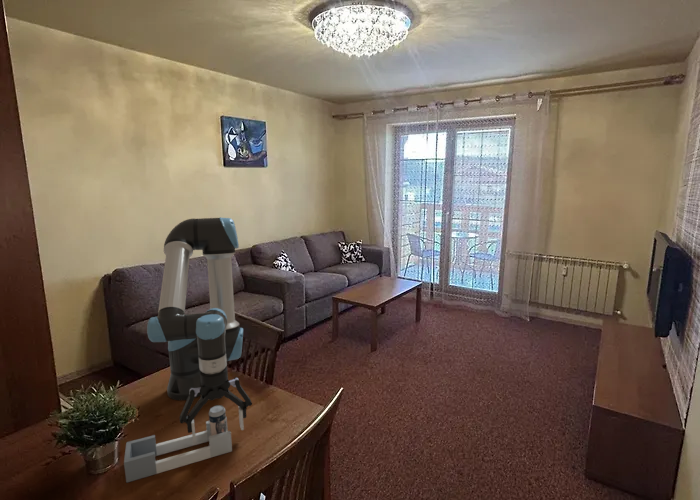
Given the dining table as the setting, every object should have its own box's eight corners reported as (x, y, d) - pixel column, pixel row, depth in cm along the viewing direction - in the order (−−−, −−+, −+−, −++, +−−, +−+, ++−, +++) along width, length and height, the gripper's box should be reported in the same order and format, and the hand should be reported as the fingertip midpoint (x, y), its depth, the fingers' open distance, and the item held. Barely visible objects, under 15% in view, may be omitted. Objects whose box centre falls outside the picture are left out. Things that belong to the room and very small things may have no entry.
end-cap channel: (128, 460, 111) (126, 442, 110) (227, 433, 123) (226, 416, 121) (126, 482, 103) (123, 462, 102) (232, 451, 115) (230, 433, 114)
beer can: (222, 451, 115) (219, 414, 112) (207, 449, 116) (204, 412, 113) (230, 440, 119) (228, 405, 117) (216, 438, 120) (213, 403, 118)
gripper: (166, 384, 104) (173, 454, 108) (259, 364, 115) (263, 429, 119) (165, 372, 111) (172, 438, 115) (254, 354, 121) (257, 415, 125)
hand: (218, 434), depth 117 cm, fingers open, 13 cm apart
